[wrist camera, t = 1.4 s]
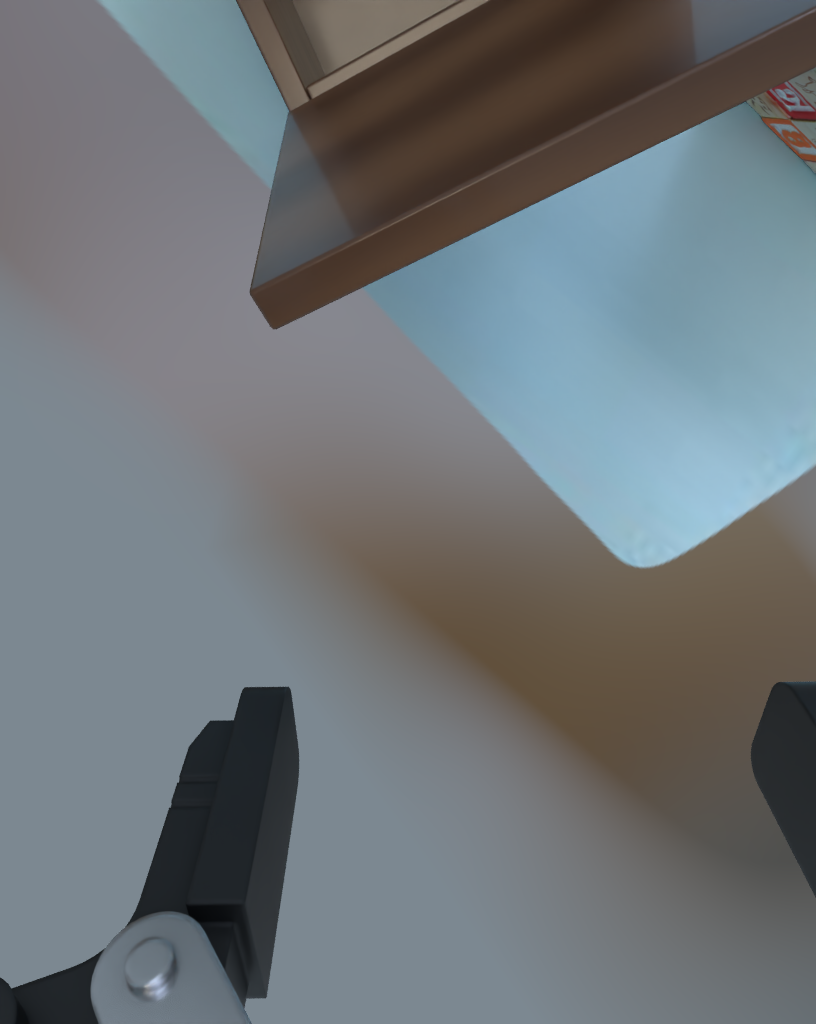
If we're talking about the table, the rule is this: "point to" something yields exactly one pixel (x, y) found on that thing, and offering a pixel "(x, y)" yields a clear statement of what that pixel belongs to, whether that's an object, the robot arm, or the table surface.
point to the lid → (500, 126)
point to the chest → (338, 37)
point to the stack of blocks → (792, 114)
